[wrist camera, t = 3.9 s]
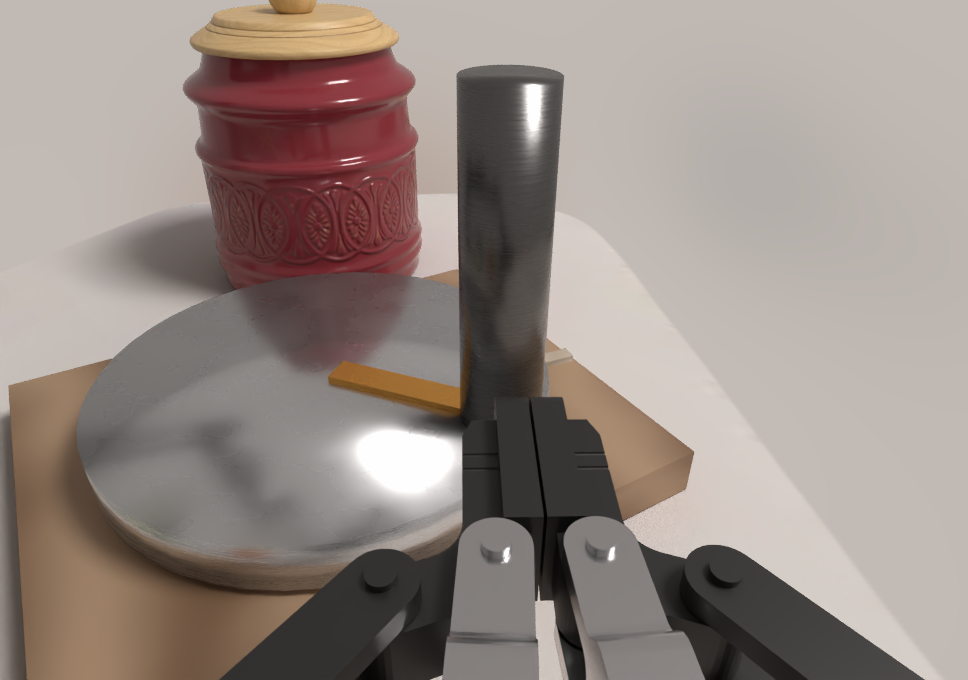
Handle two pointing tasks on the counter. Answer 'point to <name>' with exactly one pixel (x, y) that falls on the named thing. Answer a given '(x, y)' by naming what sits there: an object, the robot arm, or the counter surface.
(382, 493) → the wheel
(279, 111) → the canister
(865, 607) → the counter surface
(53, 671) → the base board
